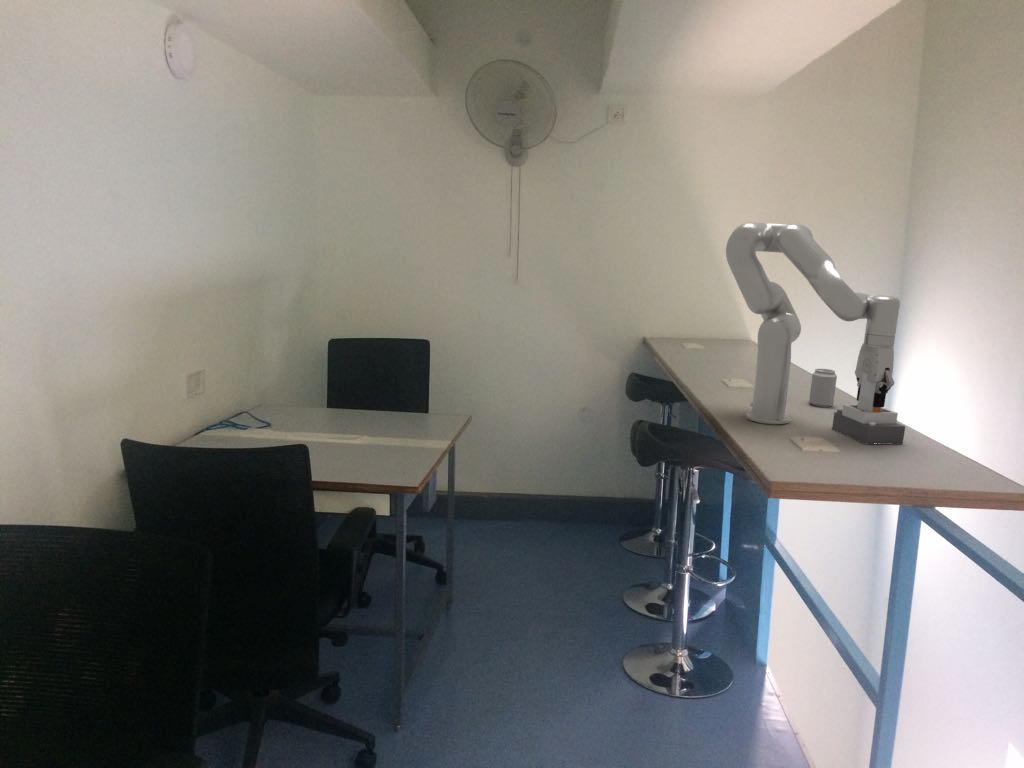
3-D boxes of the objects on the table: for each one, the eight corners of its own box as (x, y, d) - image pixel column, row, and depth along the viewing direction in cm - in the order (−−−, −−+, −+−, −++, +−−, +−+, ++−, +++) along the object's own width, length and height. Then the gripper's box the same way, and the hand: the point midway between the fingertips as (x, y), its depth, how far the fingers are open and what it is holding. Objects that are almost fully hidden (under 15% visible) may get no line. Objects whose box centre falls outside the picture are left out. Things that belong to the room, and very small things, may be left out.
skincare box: (871, 417, 207) (877, 375, 205) (856, 414, 210) (861, 372, 208) (880, 414, 211) (886, 372, 209) (865, 411, 214) (871, 370, 212)
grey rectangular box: (832, 428, 219) (835, 401, 217) (866, 428, 221) (869, 401, 219) (866, 444, 203) (870, 415, 202) (902, 443, 205) (906, 414, 203)
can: (836, 408, 245) (841, 372, 243) (813, 407, 245) (818, 371, 243) (827, 403, 253) (832, 368, 250) (805, 402, 253) (809, 367, 250)
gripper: (847, 335, 214) (839, 396, 218) (887, 345, 197) (877, 411, 201) (871, 336, 215) (862, 396, 219) (912, 346, 199) (902, 411, 202)
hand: (870, 403), depth 210 cm, fingers closed on skincare box, 6 cm apart
